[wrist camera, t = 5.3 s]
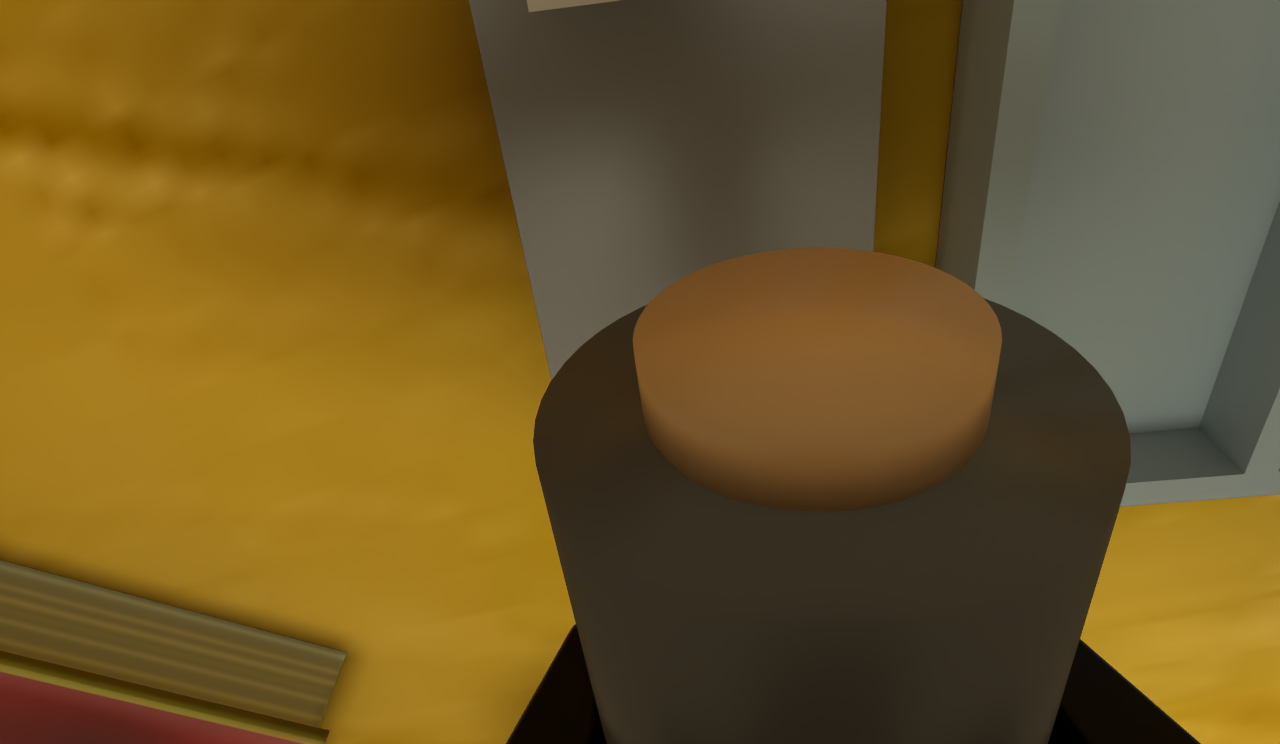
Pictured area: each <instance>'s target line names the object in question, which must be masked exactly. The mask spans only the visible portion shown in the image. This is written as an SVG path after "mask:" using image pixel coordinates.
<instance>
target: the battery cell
mask: <svg viewBox="0 0 1280 744" xmlns="http://www.w3.org/2000/svg"><path fill="white" fill-rule="evenodd" d="M533 443H534V452H535V461H536V467H537V471H538V474H539V478H540V482H541V486H542V490H543V494H544V498H545V502H546V506H547V510H548V514H549V518H550V522H551V526H552V530H553V534H554V538H555V542H556V546H557V550H558V554H559V558H560V562H561V566H562V570H563V574H564V578H565V582H566V586H567V590H568V594H569V598H570V601H571V605H572V609H573V613H574V617H575V621H576V625H577V629H578V633H579V637H580V641H581V645H582V649H583V653H584V657H585V661H586V665H587V669H588V673H589V677H590V681H591V685H592V689H593V693H594V697H595V701H596V705H597V709H598V713H599V717H600V721H601V725H602V729H603V732H604V736H605V740H606V744H1048V742H1049V739H1050V736H1051V732H1052V729H1053V726H1054V722H1055V719H1056V716H1057V712H1058V709H1059V706H1060V703H1061V699H1062V696H1063V693H1064V689H1065V686H1066V683H1067V679H1068V676H1069V673H1070V669H1071V666H1072V663H1073V660H1074V656H1075V653H1076V650H1077V646H1078V643H1079V640H1080V636H1081V633H1082V630H1083V627H1084V623H1085V620H1086V617H1087V613H1088V610H1089V607H1090V603H1091V600H1092V597H1093V594H1094V590H1095V587H1096V584H1097V580H1098V577H1099V574H1100V570H1101V567H1102V564H1103V560H1104V557H1105V554H1106V551H1107V547H1108V544H1109V541H1110V537H1111V534H1112V531H1113V527H1114V524H1115V521H1116V518H1117V514H1118V511H1119V508H1120V504H1121V501H1122V498H1123V494H1124V491H1125V487H1126V483H1127V478H1128V474H1129V470H1130V466H1131V448H1130V435H1129V431H1128V428H1127V424H1126V420H1125V416H1124V413H1123V411H1122V409H1121V407H1120V405H1119V403H1118V401H1117V399H1116V397H1115V395H1114V393H1113V391H1112V390H1111V388H1110V387H1109V386H1108V384H1107V383H1106V382H1105V380H1104V379H1103V378H1102V376H1101V375H1100V374H1099V373H1098V371H1097V370H1096V369H1095V368H1094V367H1093V366H1092V365H1091V364H1090V363H1089V362H1088V361H1087V360H1086V359H1085V358H1084V357H1083V356H1082V355H1081V354H1080V353H1079V352H1078V351H1077V350H1076V349H1074V348H1073V347H1072V346H1070V345H1069V344H1068V343H1066V342H1065V341H1064V340H1062V339H1061V338H1060V337H1058V336H1057V335H1056V334H1054V333H1053V332H1052V331H1050V330H1048V329H1046V328H1045V327H1043V326H1041V325H1040V324H1038V323H1036V322H1035V321H1033V320H1031V319H1030V318H1028V317H1026V316H1024V315H1022V314H1020V313H1018V312H1015V311H1013V310H1011V309H1009V308H1007V307H1005V306H1003V305H1001V304H998V303H995V302H993V301H990V300H987V299H985V298H983V297H982V296H981V295H980V294H979V293H977V292H976V291H975V290H974V289H972V288H971V287H970V286H968V285H967V284H966V283H964V282H962V281H961V280H959V279H957V278H956V277H954V276H952V275H950V274H948V273H946V272H944V271H941V270H939V269H937V268H935V267H932V266H929V265H926V264H924V263H921V262H918V261H914V260H911V259H907V258H904V257H900V256H895V255H890V254H886V253H880V252H874V251H867V250H859V249H847V248H824V247H818V248H794V249H782V250H774V251H767V252H760V253H755V254H750V255H745V256H741V257H737V258H733V259H729V260H725V261H722V262H719V263H716V264H713V265H710V266H708V267H705V268H703V269H700V270H698V271H695V272H693V273H691V274H689V275H687V276H685V277H683V278H681V279H679V280H678V281H676V282H675V283H673V284H672V285H670V286H668V287H667V288H666V289H664V290H663V291H662V292H661V293H659V294H658V295H657V296H656V297H655V298H654V299H653V300H652V301H651V302H650V303H649V304H647V305H645V306H643V307H641V308H639V309H637V310H635V311H633V312H631V313H629V314H627V315H625V316H623V317H621V318H619V319H618V320H616V321H615V322H613V323H612V324H610V325H608V326H607V327H605V328H604V329H602V330H601V331H599V332H598V333H597V334H595V335H594V336H593V337H592V338H590V339H589V340H588V341H587V342H585V343H584V344H583V345H582V346H581V347H580V348H579V349H578V350H577V351H576V352H575V353H574V354H573V355H572V356H571V357H570V358H569V359H568V360H567V361H566V362H565V363H564V364H563V366H562V367H561V368H560V370H559V371H558V372H557V374H556V375H555V376H554V378H553V379H552V381H551V382H550V384H549V386H548V388H547V390H546V392H545V394H544V396H543V398H542V400H541V403H540V407H539V410H538V413H537V416H536V419H535V429H534V439H533Z"/></svg>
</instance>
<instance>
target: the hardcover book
mask: <svg viewBox="0 0 1280 744" xmlns="http://www.w3.org/2000/svg"><path fill="white" fill-rule="evenodd" d="M345 656H346V652H342V651H339V650H335V649H331V648H327V647H324V646H320V645H316V644H312V643H309V642H305V641H301V640H297V639H294V638H290V637H286V636H283V635H279V634H275V633H271V632H268V631H264V630H260V629H256V628H253V627H249V626H245V625H241V624H238V623H234V622H230V621H226V620H223V619H219V618H215V617H211V616H208V615H204V614H200V613H197V612H193V611H189V610H185V609H182V608H178V607H174V606H170V605H167V604H163V603H159V602H155V601H152V600H148V599H144V598H140V597H137V596H133V595H129V594H125V593H122V592H118V591H114V590H111V589H107V588H103V587H99V586H96V585H92V584H88V583H84V582H81V581H77V580H73V579H69V578H66V577H62V576H58V575H54V574H51V573H47V572H43V571H40V570H36V569H32V568H28V567H25V566H21V565H17V564H13V563H10V562H6V561H2V560H0V744H325V742H326V739H327V737H328V734H329V730H324V729H320V728H319V726H320V723H321V720H322V718H323V715H324V712H325V710H326V707H327V704H328V702H329V699H330V696H331V694H332V691H333V688H334V685H335V683H336V680H337V677H338V675H339V672H340V669H341V667H342V664H343V661H344V659H345Z"/></svg>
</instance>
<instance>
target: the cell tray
mask: <svg viewBox="0 0 1280 744" xmlns="http://www.w3.org/2000/svg"><path fill="white" fill-rule="evenodd" d="M935 268H937V269H939V270H941V271H944V272H946V273H948V274H950V275H952V276H954V277H956V278H957V279H959V280H961V281H962V282H964V283H966V284H967V285H968V286H970V287H971V288H972V289H974V290H975V291H976V292H977V293H979V294H980V295H981V296H982V297H983V298H985V299H987V300H990V301H993V302H995V303H998V304H1001V305H1003V306H1005V307H1007V308H1009V309H1011V310H1013V311H1015V312H1018V313H1020V314H1022V315H1024V316H1026V317H1028V318H1030V319H1031V320H1033V321H1035V322H1036V323H1038V324H1040V325H1041V326H1043V327H1045V328H1046V329H1048V330H1050V331H1052V332H1053V333H1054V334H1056V335H1057V336H1058V337H1060V338H1061V339H1062V340H1064V341H1065V342H1066V343H1068V344H1069V345H1070V346H1072V347H1073V348H1074V349H1076V350H1077V351H1078V352H1079V353H1080V354H1081V355H1082V356H1083V357H1084V358H1085V359H1086V360H1087V361H1088V362H1089V363H1090V364H1091V365H1092V366H1093V367H1094V368H1095V369H1096V370H1097V371H1098V373H1099V374H1100V375H1101V376H1102V378H1103V379H1104V380H1105V382H1106V383H1107V384H1108V386H1109V387H1110V388H1111V390H1112V391H1113V393H1114V395H1115V397H1116V399H1117V401H1118V403H1119V405H1120V407H1121V409H1122V411H1123V413H1124V416H1125V420H1126V424H1127V428H1128V431H1129V435H1130V448H1131V466H1130V470H1129V474H1128V478H1127V483H1126V487H1125V491H1124V494H1123V498H1122V501H1121V504H1120V507H1121V506H1134V505H1147V504H1160V503H1173V502H1186V501H1199V500H1212V499H1225V498H1239V497H1252V496H1265V495H1278V494H1280V0H963V4H962V14H961V24H960V33H959V43H958V53H957V63H956V72H955V82H954V92H953V101H952V111H951V121H950V130H949V140H948V150H947V160H946V169H945V179H944V189H943V198H942V208H941V218H940V227H939V237H938V247H937V257H936V266H935Z"/></svg>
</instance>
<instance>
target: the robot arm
mask: <svg viewBox="0 0 1280 744" xmlns="http://www.w3.org/2000/svg"><path fill="white" fill-rule="evenodd" d="M506 744H606V740H605V736H604V732H603V729H602V725H601V721H600V717H599V713H598V709H597V705H596V701H595V697H594V693H593V689H592V685H591V681H590V677H589V673H588V669H587V665H586V661H585V657H584V653H583V649H582V645H581V641H580V637H579V633H578V629H577V625H576V624H575V625H574V626H573V627H572V629H571V630H570V632H569V634H568V635H567V637H566V639H565V641H564V642H563V644H562V646H561V648H560V649H559V651H558V653H557V655H556V656H555V658H554V660H553V662H552V663H551V665H550V667H549V669H548V670H547V672H546V674H545V676H544V678H543V679H542V681H541V683H540V685H539V686H538V688H537V690H536V692H535V693H534V695H533V697H532V699H531V700H530V702H529V704H528V706H527V707H526V709H525V711H524V713H523V714H522V716H521V718H520V720H519V722H518V723H517V725H516V727H515V729H514V730H513V732H512V734H511V736H510V737H509V739H508V741H507V743H506ZM1048 744H1200V743H1199V742H1198V741H1197V740H1196V739H1195V738H1193V737H1192V736H1191V735H1190V734H1189V733H1188V732H1187V731H1185V730H1184V729H1183V728H1182V727H1181V726H1180V725H1178V724H1177V723H1176V722H1175V721H1174V720H1173V719H1172V718H1170V717H1169V716H1168V715H1167V714H1166V713H1165V712H1164V711H1162V710H1161V709H1160V708H1159V707H1158V706H1157V705H1155V704H1154V703H1153V702H1152V701H1151V700H1150V699H1149V698H1147V697H1146V696H1145V695H1144V694H1143V693H1142V692H1140V691H1139V690H1138V689H1137V688H1136V687H1135V686H1134V685H1132V684H1131V683H1130V682H1129V681H1128V680H1127V679H1126V678H1124V677H1123V676H1122V675H1121V674H1120V673H1119V672H1117V671H1116V670H1115V669H1114V668H1113V667H1112V666H1111V665H1109V664H1108V663H1107V662H1106V661H1105V660H1104V659H1102V658H1101V657H1100V656H1099V655H1098V654H1097V653H1096V652H1094V651H1093V650H1092V649H1091V648H1090V647H1089V646H1088V645H1086V644H1085V643H1084V642H1083V641H1082V640H1081V639H1080V640H1079V643H1078V646H1077V650H1076V653H1075V656H1074V660H1073V663H1072V666H1071V669H1070V673H1069V676H1068V679H1067V683H1066V686H1065V689H1064V693H1063V696H1062V699H1061V703H1060V706H1059V709H1058V712H1057V716H1056V719H1055V722H1054V726H1053V729H1052V732H1051V736H1050V739H1049V742H1048Z"/></svg>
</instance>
